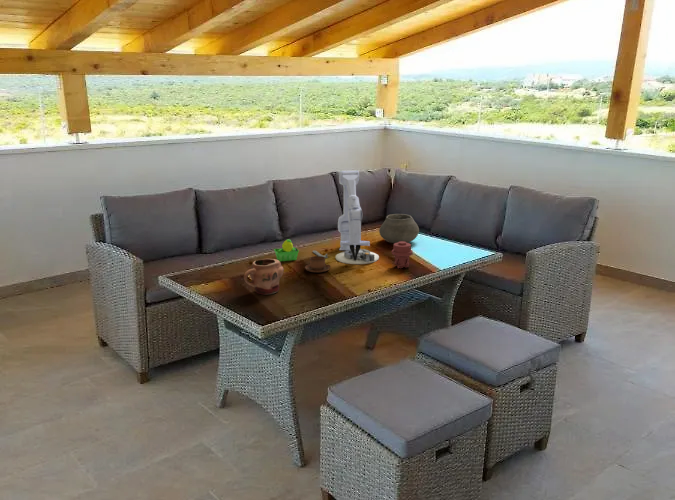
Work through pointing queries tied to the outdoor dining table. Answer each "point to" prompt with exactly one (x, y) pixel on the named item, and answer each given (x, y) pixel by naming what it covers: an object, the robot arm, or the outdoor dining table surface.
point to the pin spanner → (319, 254)
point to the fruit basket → (287, 252)
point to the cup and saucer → (317, 264)
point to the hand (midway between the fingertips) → (355, 259)
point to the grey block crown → (363, 256)
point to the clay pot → (399, 228)
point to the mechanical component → (402, 254)
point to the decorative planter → (265, 276)
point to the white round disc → (342, 259)
